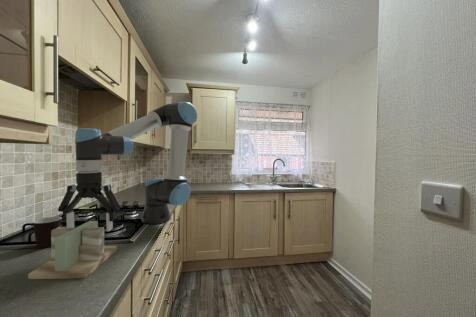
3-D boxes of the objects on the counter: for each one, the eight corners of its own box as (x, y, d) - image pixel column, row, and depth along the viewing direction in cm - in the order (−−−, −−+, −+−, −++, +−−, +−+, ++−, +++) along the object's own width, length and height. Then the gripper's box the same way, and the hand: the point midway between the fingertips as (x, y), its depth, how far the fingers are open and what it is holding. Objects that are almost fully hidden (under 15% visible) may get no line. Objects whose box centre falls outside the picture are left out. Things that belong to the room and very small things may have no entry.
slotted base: (72, 250, 79) (72, 220, 79) (116, 250, 80) (116, 220, 80) (28, 279, 61) (28, 239, 61) (85, 278, 62) (85, 239, 62)
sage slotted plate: (65, 271, 63) (65, 238, 63) (54, 271, 63) (54, 238, 63) (97, 247, 79) (97, 221, 79) (89, 247, 79) (89, 221, 79)
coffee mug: (44, 250, 79) (44, 224, 79) (26, 248, 81) (26, 222, 81) (74, 238, 90) (74, 215, 90) (58, 236, 92) (58, 213, 92)
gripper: (43, 172, 71) (45, 234, 72) (119, 173, 73) (120, 233, 74) (60, 170, 79) (62, 226, 80) (129, 170, 80) (130, 225, 81)
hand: (90, 230), depth 77 cm, fingers open, 13 cm apart
